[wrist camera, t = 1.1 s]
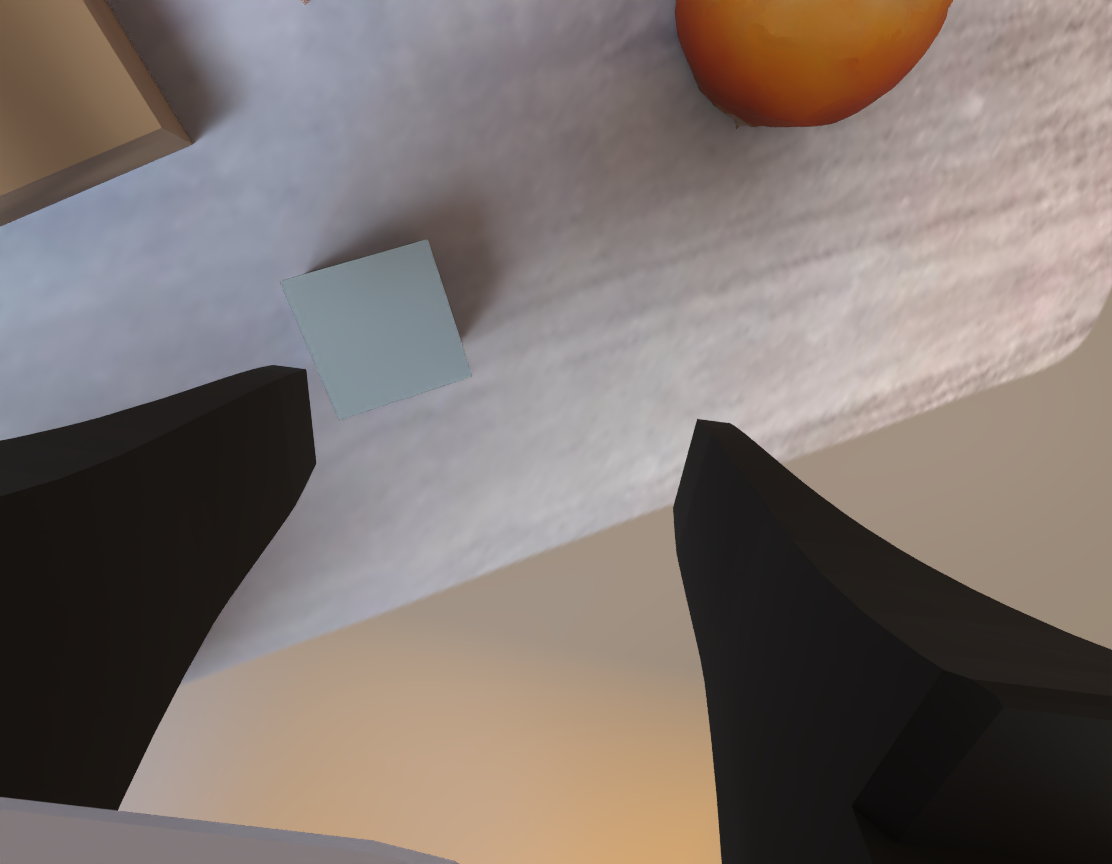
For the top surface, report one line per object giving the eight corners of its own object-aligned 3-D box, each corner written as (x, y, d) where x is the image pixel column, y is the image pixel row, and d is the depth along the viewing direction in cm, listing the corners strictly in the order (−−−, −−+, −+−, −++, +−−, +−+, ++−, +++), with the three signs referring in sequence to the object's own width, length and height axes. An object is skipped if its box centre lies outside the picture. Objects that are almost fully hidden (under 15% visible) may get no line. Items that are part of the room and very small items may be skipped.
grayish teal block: (348, 383, 21) (338, 420, 17) (303, 273, 20) (279, 281, 15) (454, 349, 22) (472, 375, 17) (418, 241, 21) (427, 239, 16)
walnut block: (6, 226, 18) (-64, 222, 15) (-164, 4, 15) (-284, -48, 13) (195, 145, 18) (161, 127, 16) (59, -79, 16) (-9, -147, 13)
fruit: (738, 228, 22) (836, 58, 14) (622, 72, 23) (652, -164, 15) (910, 123, 23) (1093, -95, 15) (788, -23, 24) (898, -296, 16)
